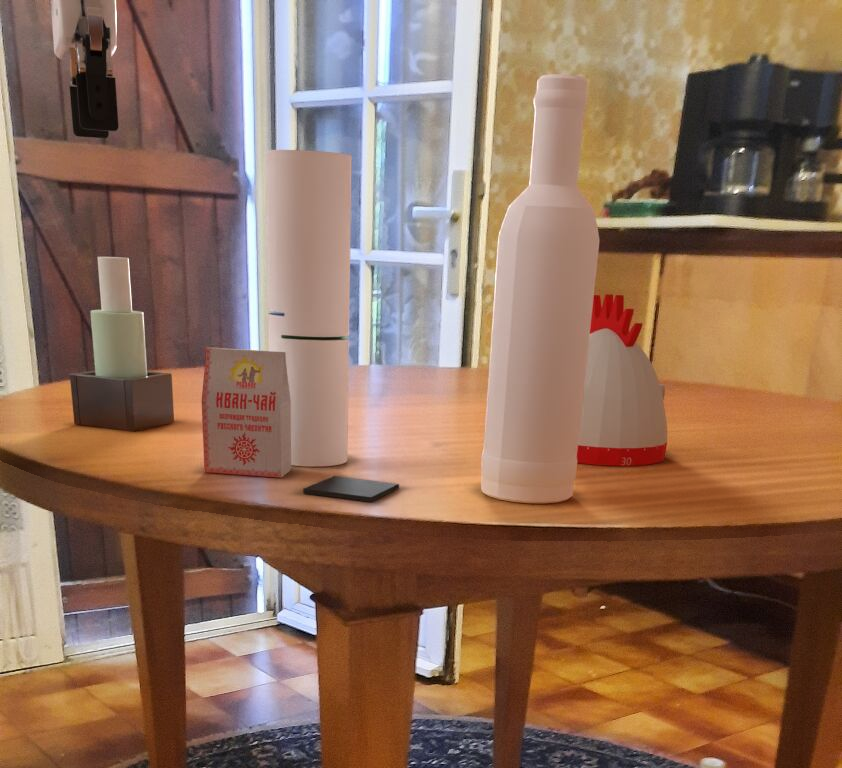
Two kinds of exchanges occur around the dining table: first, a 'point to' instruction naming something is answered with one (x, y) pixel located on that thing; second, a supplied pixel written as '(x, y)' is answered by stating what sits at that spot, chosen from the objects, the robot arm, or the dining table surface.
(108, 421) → the box
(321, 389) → the cylindrical container
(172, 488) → the dining table surface
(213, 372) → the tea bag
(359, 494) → the coaster
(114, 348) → the bottle
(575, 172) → the bottle
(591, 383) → the kitchen timer
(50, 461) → the dining table surface
